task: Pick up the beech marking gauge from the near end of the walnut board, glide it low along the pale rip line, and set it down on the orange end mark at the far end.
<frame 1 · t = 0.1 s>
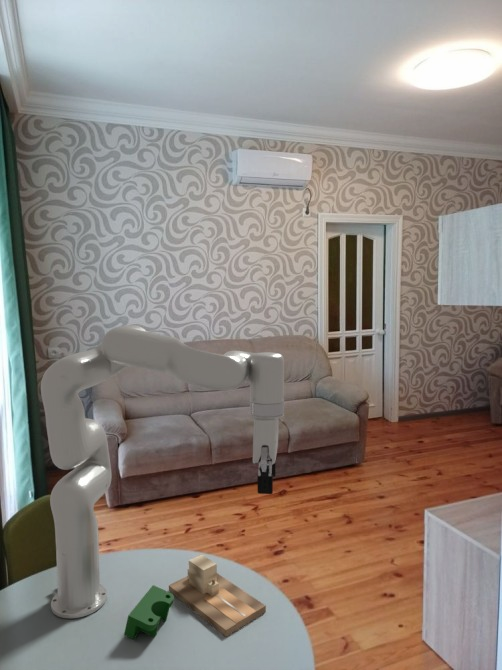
hand: (266, 484, 108), 31 cm above the table, tool pointing down, fingers open, 9 cm apart
board: (215, 601, 116), on the table
gauge: (202, 585, 119), point 2 cm above the table, touching board
clamp: (150, 627, 107), on the table
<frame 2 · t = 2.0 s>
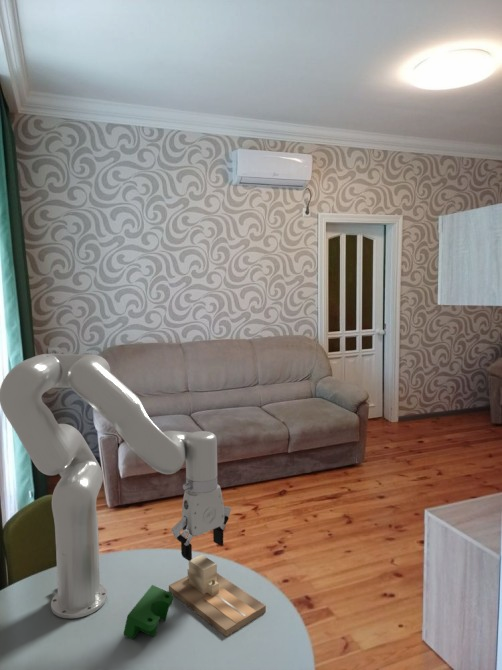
hand: (203, 550, 119), 11 cm above the table, tool pointing down, fingers open, 9 cm apart
nothing on the table moved.
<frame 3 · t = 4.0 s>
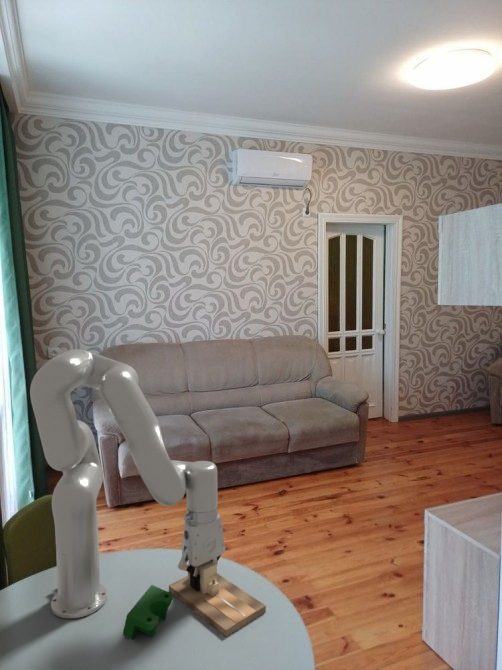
hand: (203, 583, 119), 2 cm above the table, tool pointing down, fingers closed on gauge, 4 cm apart
gauge: (203, 585, 119), point 2 cm above the table, touching board, gripper
everything else where it was.
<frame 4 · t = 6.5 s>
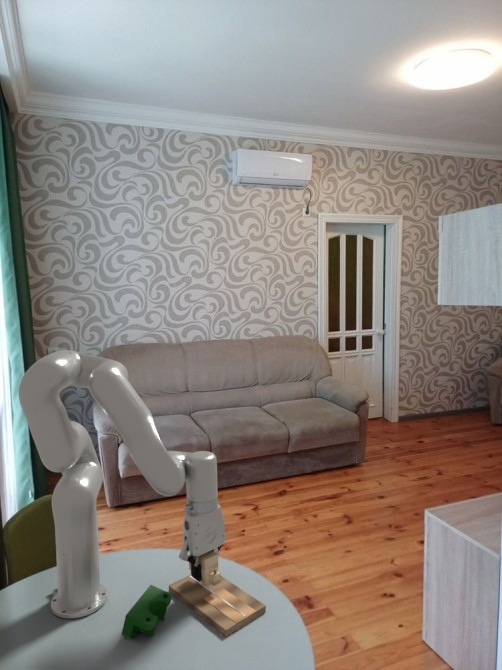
hand: (204, 574, 119), 4 cm above the table, tool pointing down, fingers closed on gauge, 4 cm apart
gauge: (204, 575, 119), point 4 cm above the table, touching gripper
everything else where it was.
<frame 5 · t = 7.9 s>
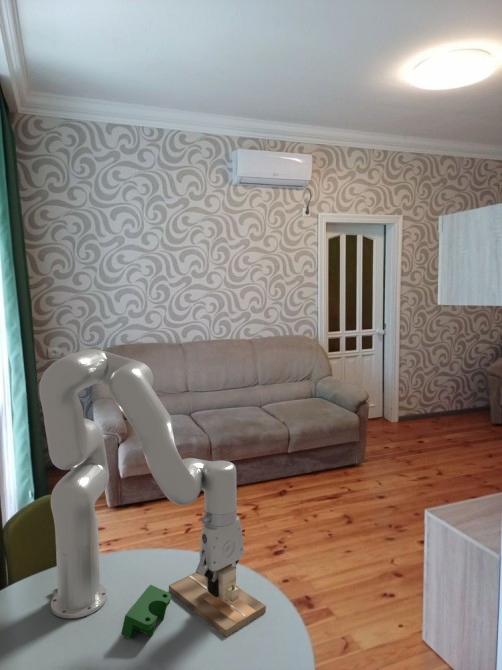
hand: (221, 589, 114), 4 cm above the table, tool pointing down, fingers closed on gauge, 4 cm apart
gauge: (221, 590, 114), point 3 cm above the table, touching gripper
everything else where it was.
when the fingers open (3 cm above the table, at t = 9.2 s): gauge stays where it is, resting on board.
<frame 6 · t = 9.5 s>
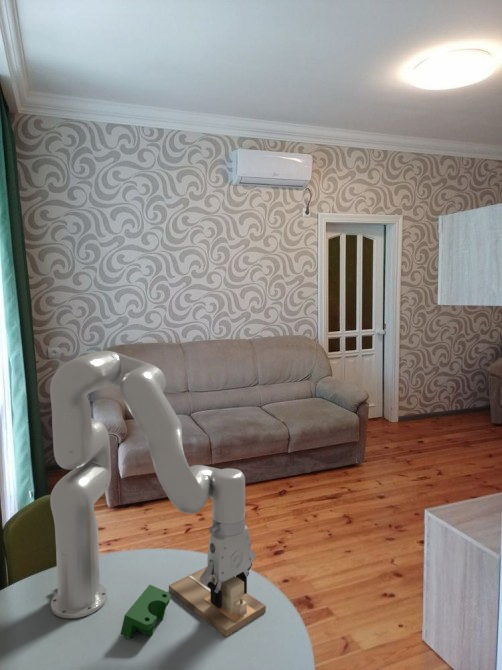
hand: (229, 597, 112), 3 cm above the table, tool pointing down, fingers open, 7 cm apart
gauge: (229, 604, 112), point 2 cm above the table, touching board
everything else where it was.
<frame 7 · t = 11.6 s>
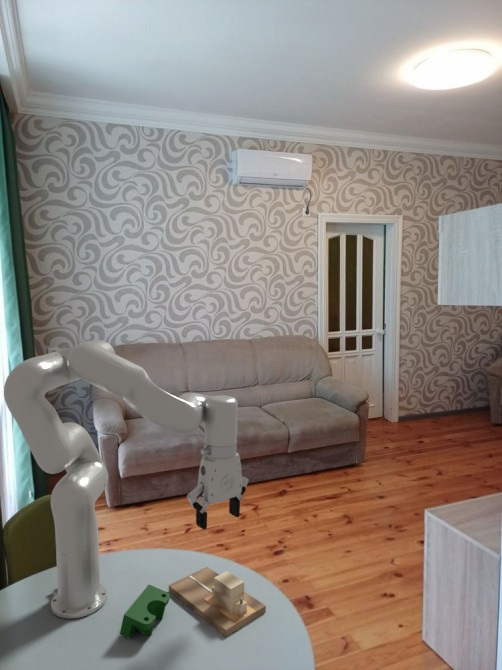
hand: (218, 520, 113), 20 cm above the table, tool pointing down, fingers open, 9 cm apart
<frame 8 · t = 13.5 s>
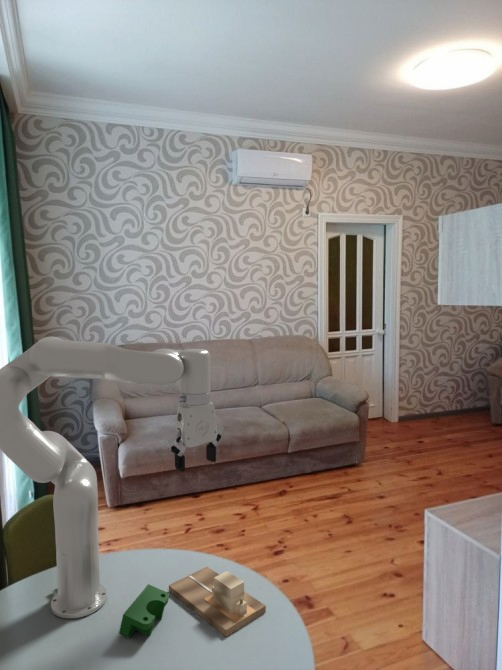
hand: (196, 465, 122), 30 cm above the table, tool pointing down, fingers open, 9 cm apart
at the end: gauge 0.1 cm from the target spot on the board, point 1.6 cm above the board's base; gauge tilted 0°; the gripper is holding nothing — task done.
